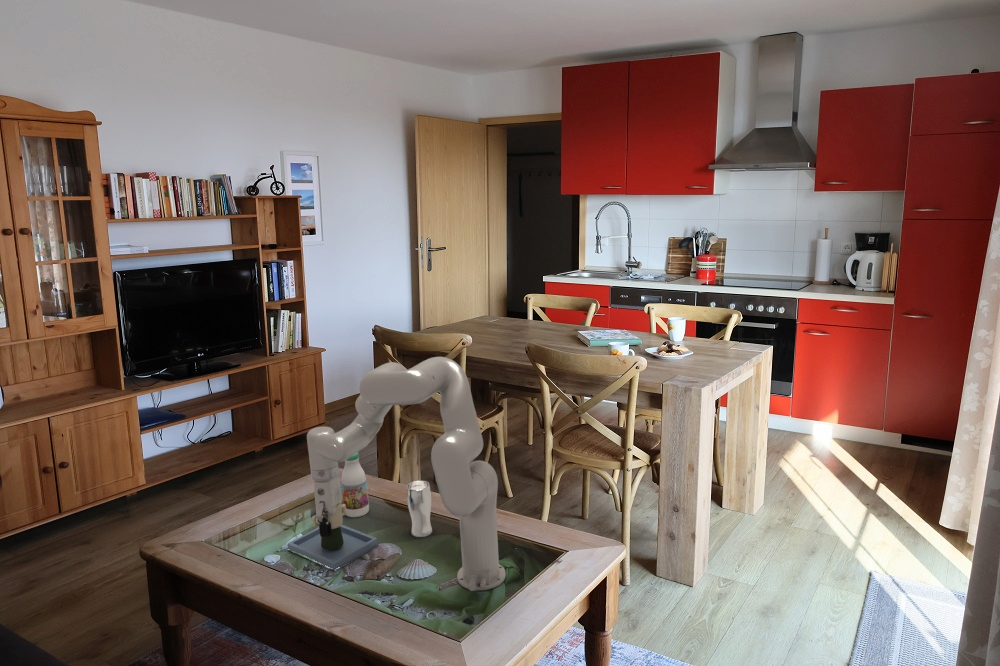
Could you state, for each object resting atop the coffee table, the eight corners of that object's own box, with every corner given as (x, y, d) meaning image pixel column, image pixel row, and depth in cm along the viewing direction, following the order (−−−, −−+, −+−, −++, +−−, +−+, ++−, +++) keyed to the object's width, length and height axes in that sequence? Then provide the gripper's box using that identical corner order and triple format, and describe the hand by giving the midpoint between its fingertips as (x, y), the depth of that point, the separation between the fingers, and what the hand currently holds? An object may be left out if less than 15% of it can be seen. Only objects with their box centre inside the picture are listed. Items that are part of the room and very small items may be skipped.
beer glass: (432, 537, 211) (428, 490, 208) (408, 538, 212) (404, 490, 208) (434, 526, 218) (431, 479, 215) (411, 526, 218) (407, 480, 215)
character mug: (341, 536, 213) (337, 494, 211) (355, 543, 208) (351, 500, 206) (309, 550, 206) (304, 507, 203) (323, 558, 201) (318, 513, 198)
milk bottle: (343, 509, 232) (337, 450, 227) (367, 504, 234) (362, 446, 229) (345, 519, 225) (339, 459, 220) (370, 515, 227) (365, 455, 222)
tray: (378, 545, 208) (377, 538, 208) (334, 571, 196) (333, 563, 195) (332, 527, 220) (331, 520, 220) (288, 551, 208) (287, 543, 207)
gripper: (328, 484, 194) (335, 543, 198) (346, 458, 211) (352, 513, 215) (301, 485, 194) (308, 543, 198) (321, 459, 211) (327, 513, 215)
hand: (331, 527), depth 206 cm, fingers open, 9 cm apart
